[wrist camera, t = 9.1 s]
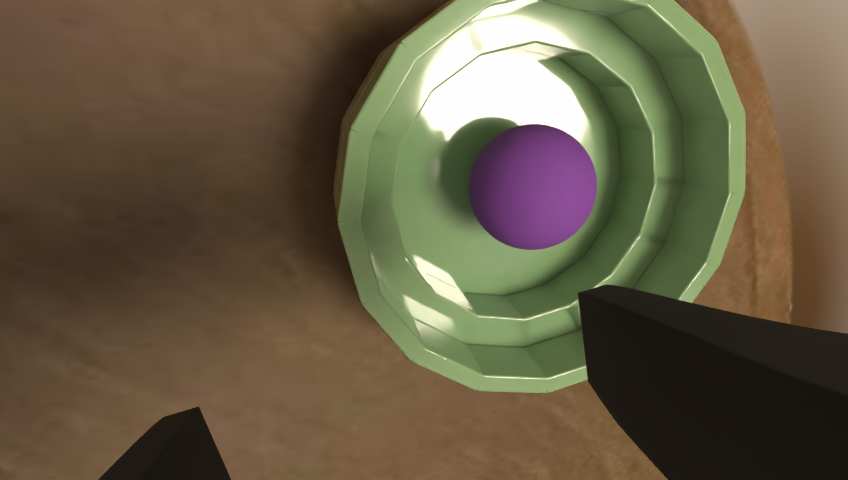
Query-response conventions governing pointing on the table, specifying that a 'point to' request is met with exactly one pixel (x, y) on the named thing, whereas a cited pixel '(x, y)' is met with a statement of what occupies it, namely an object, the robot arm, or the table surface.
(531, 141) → the ball
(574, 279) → the bowl
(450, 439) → the table surface
